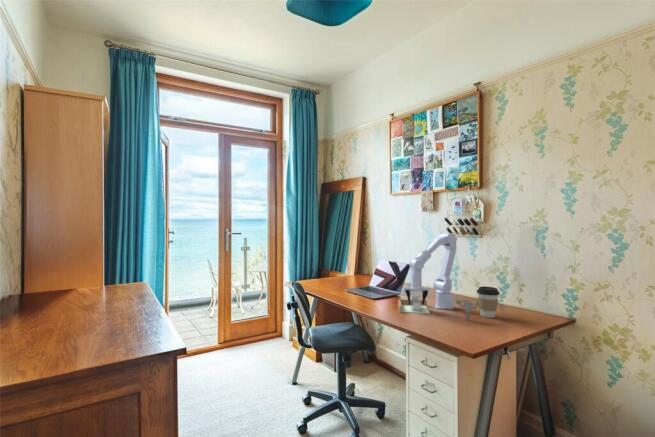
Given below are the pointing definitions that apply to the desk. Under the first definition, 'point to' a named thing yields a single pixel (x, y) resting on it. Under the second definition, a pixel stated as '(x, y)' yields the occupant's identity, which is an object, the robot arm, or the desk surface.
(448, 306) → the robot arm
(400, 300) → the corner arena
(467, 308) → the mechanical component
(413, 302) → the bracket
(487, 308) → the coffee cup
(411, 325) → the desk surface
